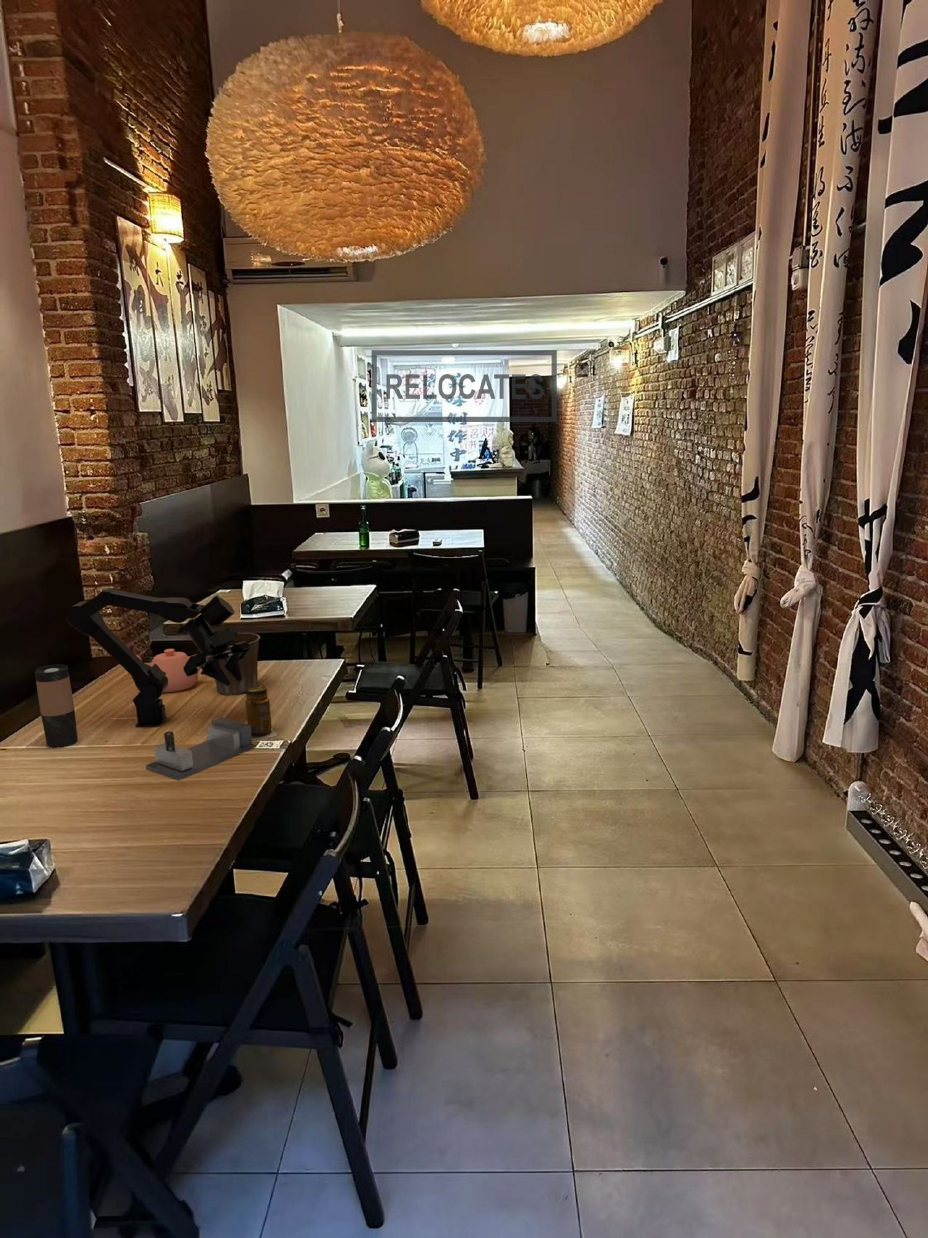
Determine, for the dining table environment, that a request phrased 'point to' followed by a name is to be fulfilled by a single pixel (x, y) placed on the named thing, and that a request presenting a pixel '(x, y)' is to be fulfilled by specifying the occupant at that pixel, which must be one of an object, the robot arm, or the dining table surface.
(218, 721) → the vise
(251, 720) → the condiment
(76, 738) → the travel mug
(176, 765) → the sliding jaw
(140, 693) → the robot arm
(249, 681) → the plant pot
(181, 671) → the teapot
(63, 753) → the dining table surface
